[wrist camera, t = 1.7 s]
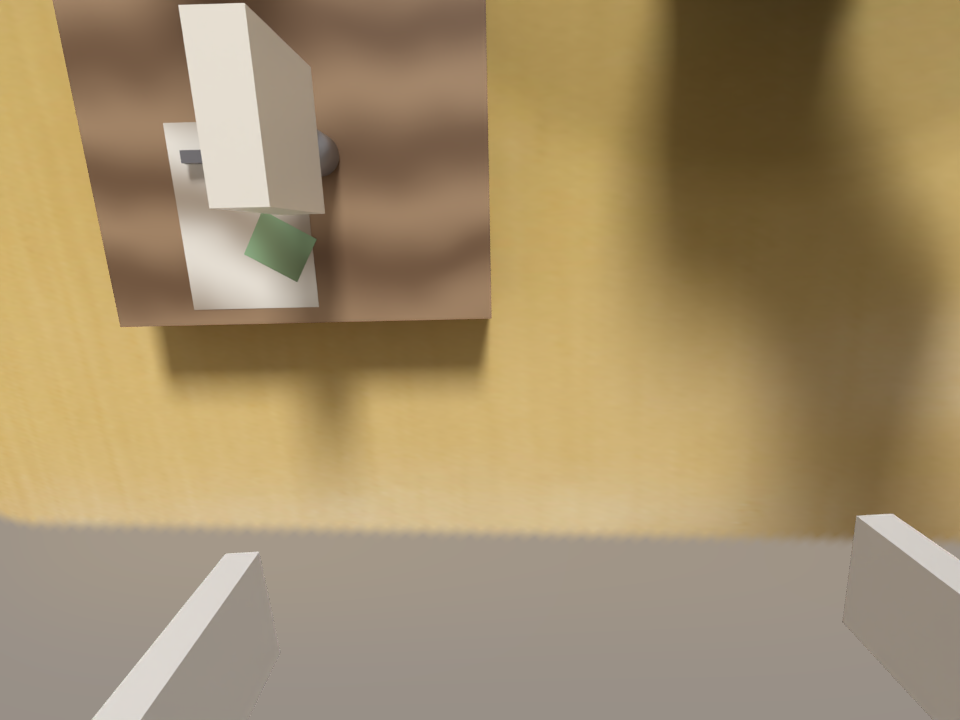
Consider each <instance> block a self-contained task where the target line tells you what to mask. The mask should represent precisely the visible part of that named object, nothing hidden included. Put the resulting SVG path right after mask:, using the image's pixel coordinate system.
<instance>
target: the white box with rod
mask: <svg viewBox="0 0 960 720" xmlns="http://www.w3.org/2000/svg"><path fill="white" fill-rule="evenodd" d="M178 7H179V13H180V20H181V26H182V33H183V40H184V46H185V53H186V59H187V66H188V72H189V79H190V85H191V92H192V98H193V105H194V111H195V118H196V124H197V131H198V137H199V144H200V150H179V151H180V158H181V163H182V164H203V170H204V176H205V183H206V189H207V196H208V202H209V208H211V209H222V210H232V211H243V212H254V213H264V214H275V215H300V214H325V208H324V198H323V188H322V177H323V176H327V175H329V174H331V173H332V172H333V171H334V170H335V169H336V167H337V165H338V162H339V151H338V148H337V146H336V144H335V142H334V141H333V140H332V139H331V138H330V137H328V136H327V135H325V134H324V133H322V132H320V131H319V130H317V126H316V116H315V106H314V96H313V86H312V75H311V67H310V66H309V65H308V64H307V63H306V62H305V61H304V60H303V59H302V58H301V57H300V56H299V55H298V54H297V53H296V52H295V51H294V50H293V49H292V48H291V47H289V46H288V45H287V44H286V43H285V42H284V41H283V40H282V39H281V38H280V37H279V36H278V35H277V34H276V33H275V32H274V31H273V30H272V29H271V28H270V27H269V26H268V25H267V24H266V23H265V22H264V21H263V20H262V19H261V18H260V17H259V16H258V15H257V14H255V13H254V12H253V11H252V10H251V9H250V8H249V7H248V6H247V5H246V4H245V3H225V4H192V5H178Z"/></svg>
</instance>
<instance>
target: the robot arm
mask: <svg viewBox="0 0 960 720" xmlns="http://www.w3.org/2000/svg"><path fill="white" fill-rule="evenodd" d="M843 623H844V624H845V625H846V626H847V627H848V628H849V630H850V631H851V632H852V633H853V634H854V635H855V636H856V637H857V638H858V639H859V640H860V641H861V642H862V643H863V645H864V646H865V647H866V648H867V649H868V650H869V651H870V652H871V653H872V654H873V655H874V657H876V659H877V660H878V661H879V662H880V663H881V664H882V665H883V666H884V667H885V668H886V669H887V671H888V672H889V673H890V674H891V675H892V676H893V677H894V678H895V679H896V680H897V682H898V683H899V684H900V685H901V686H902V687H903V688H904V689H905V690H906V691H907V692H908V693H909V695H910V696H911V697H912V698H913V699H914V700H915V701H916V702H917V703H918V704H919V705H920V706H921V708H923V710H924V711H925V712H926V713H927V714H928V715H929V716H930V717H931V718H932V719H933V720H960V560H959V559H958V558H956V557H955V556H953V555H952V554H951V553H949V552H948V551H946V550H945V549H943V548H942V547H940V546H939V545H937V544H936V543H934V542H933V541H932V540H930V539H929V538H927V537H926V536H924V535H923V534H921V533H920V532H918V531H917V530H916V529H914V528H913V527H911V526H910V525H908V524H907V523H905V522H904V521H902V520H901V519H900V518H898V517H897V516H895V515H894V514H878V515H861V516H856V523H855V530H854V538H853V546H852V554H851V561H850V568H849V576H848V584H847V591H846V599H845V607H844V615H843ZM279 655H280V647H279V642H278V638H277V633H276V628H275V624H274V619H273V614H272V610H271V605H270V600H269V595H268V591H267V586H266V582H265V577H264V572H263V567H262V562H261V558H260V553H259V552H246V553H229V554H225V555H224V556H223V557H222V559H221V560H220V561H219V562H218V564H217V565H216V566H215V568H214V569H213V570H212V571H211V572H210V574H209V575H208V576H207V577H206V579H205V580H204V581H203V582H202V583H201V585H200V586H199V587H198V589H197V590H196V591H195V592H194V593H193V595H192V596H191V597H190V599H189V600H188V601H187V602H186V603H185V605H184V606H183V607H182V608H181V610H180V611H179V612H178V613H177V614H176V616H175V617H174V618H173V619H172V621H171V622H170V623H169V624H168V626H167V627H166V628H165V629H164V631H163V632H162V633H161V634H160V636H159V637H158V638H157V639H156V641H155V642H154V643H153V644H152V645H151V647H150V648H149V649H148V651H147V652H146V653H145V654H144V656H143V657H142V658H141V659H140V660H139V662H138V663H137V664H136V665H135V667H134V668H133V669H132V670H131V672H130V673H129V674H128V675H127V677H126V678H125V679H124V680H123V682H122V683H121V684H120V685H119V686H118V688H117V689H116V690H115V691H114V693H113V694H112V695H111V696H110V698H109V699H108V700H107V701H106V703H105V704H104V705H103V706H102V708H101V709H100V710H99V711H98V712H97V714H96V715H95V716H94V717H93V719H92V720H248V719H249V717H250V715H251V713H252V711H253V709H254V707H255V705H256V703H257V700H258V698H259V696H260V694H261V692H262V690H263V688H264V686H265V684H266V682H267V680H268V678H269V676H270V674H271V672H272V669H273V667H274V665H275V663H276V661H277V659H278V657H279Z"/></svg>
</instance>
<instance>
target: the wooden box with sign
mask: <svg viewBox="0 0 960 720" xmlns="http://www.w3.org/2000/svg"><path fill="white" fill-rule="evenodd" d="M225 3H245V4H246V5H247V6H248V7H249V8H250V9H251V10H252V11H253V12H254V13H255V14H257V15H258V16H259V17H260V18H261V19H262V20H263V21H264V22H265V23H266V24H267V25H268V26H269V27H270V28H271V29H272V30H273V31H274V32H275V33H276V34H277V35H278V36H279V37H280V38H281V39H282V40H283V41H284V42H285V43H286V44H287V45H288V46H289V47H291V48H292V49H293V50H294V51H295V52H296V53H297V54H298V55H299V56H300V57H301V58H302V59H303V60H304V61H305V62H306V63H307V64H308V65H309V66H310V67H311V75H312V86H313V96H314V106H315V116H316V126H317V130H319V131H320V132H322V133H324V134H325V135H327V136H328V137H330V138H331V139H332V140H333V141H334V142H335V144H336V146H337V148H338V151H339V162H338V165H337V167H336V169H335V170H334V171H333V172H332V173H331V174H329V175H327V176H323V177H322V188H323V198H324V208H325V214H300V215H275V214H264V213H254V212H243V211H232V210H222V209H211V208H209V202H208V196H207V189H206V183H205V176H204V170H203V164H182V163H181V158H180V151H179V150H200V144H199V137H198V131H197V124H196V118H195V111H194V105H193V98H192V92H191V85H190V79H189V72H188V66H187V59H186V53H185V46H184V40H183V33H182V26H181V20H180V13H179V7H178V5H192V4H225ZM53 5H54V9H55V14H56V19H57V24H58V29H59V33H60V38H61V43H62V48H63V53H64V57H65V62H66V67H67V72H68V77H69V81H70V86H71V91H72V96H73V101H74V105H75V110H76V115H77V120H78V125H79V129H80V134H81V139H82V144H83V149H84V154H85V158H86V163H87V168H88V173H89V178H90V182H91V187H92V192H93V197H94V202H95V206H96V211H97V216H98V221H99V226H100V230H101V235H102V240H103V245H104V250H105V254H106V259H107V264H108V269H109V274H110V278H111V283H112V288H113V293H114V298H115V303H116V307H117V312H118V317H119V322H120V327H141V326H185V325H228V324H272V323H316V322H359V321H403V320H446V319H490V318H491V268H490V214H489V160H488V106H487V52H486V0H53Z"/></svg>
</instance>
